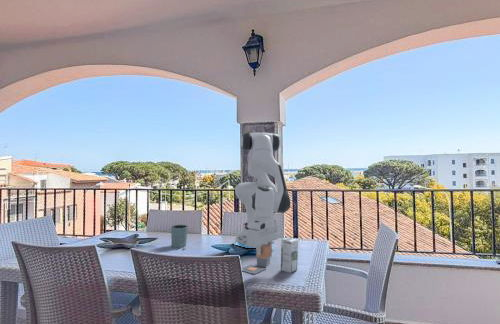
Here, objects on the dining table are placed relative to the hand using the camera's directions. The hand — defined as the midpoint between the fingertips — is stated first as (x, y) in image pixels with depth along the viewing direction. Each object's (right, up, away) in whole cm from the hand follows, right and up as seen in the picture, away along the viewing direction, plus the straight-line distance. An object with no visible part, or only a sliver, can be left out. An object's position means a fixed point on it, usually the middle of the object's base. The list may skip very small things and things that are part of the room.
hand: (263, 252), depth 135 cm
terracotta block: (0, -2, 0) cm, 2 cm away
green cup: (-49, -10, +45) cm, 67 cm away
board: (-5, -10, +5) cm, 12 cm away
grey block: (0, -10, +13) cm, 16 cm away
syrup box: (+12, -10, +5) cm, 16 cm away
